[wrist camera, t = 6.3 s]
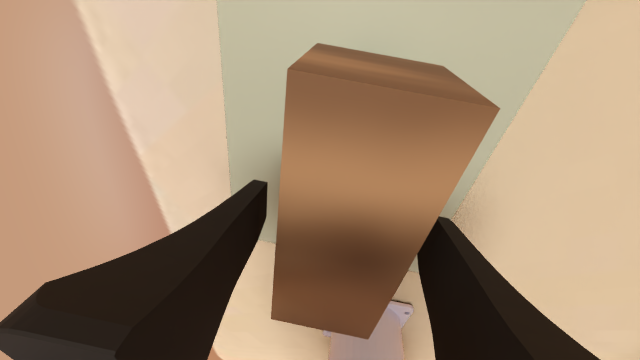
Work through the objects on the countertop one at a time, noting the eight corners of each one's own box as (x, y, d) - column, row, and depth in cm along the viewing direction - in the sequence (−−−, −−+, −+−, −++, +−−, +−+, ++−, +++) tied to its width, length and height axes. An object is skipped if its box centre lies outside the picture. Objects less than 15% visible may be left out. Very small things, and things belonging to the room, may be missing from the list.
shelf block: (366, 258, 17) (368, 339, 13) (292, 243, 17) (271, 318, 13) (443, 65, 10) (500, 108, 6) (317, 42, 10) (287, 68, 6)
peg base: (416, 262, 22) (425, 307, 19) (238, 226, 23) (218, 263, 19) (587, -29, 11) (686, -43, 7) (220, -92, 11) (161, -131, 8)
